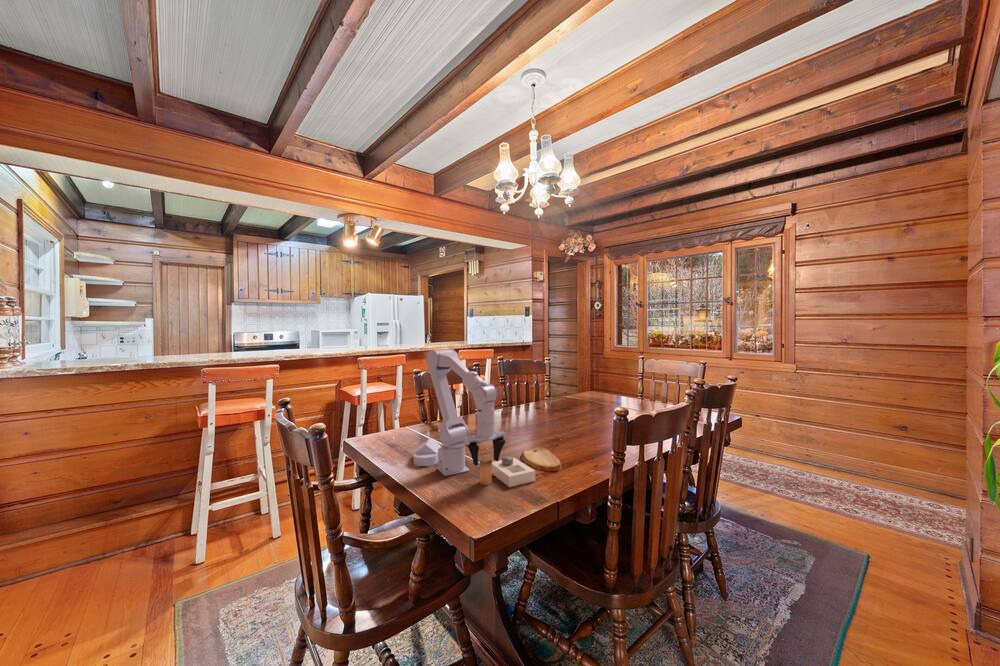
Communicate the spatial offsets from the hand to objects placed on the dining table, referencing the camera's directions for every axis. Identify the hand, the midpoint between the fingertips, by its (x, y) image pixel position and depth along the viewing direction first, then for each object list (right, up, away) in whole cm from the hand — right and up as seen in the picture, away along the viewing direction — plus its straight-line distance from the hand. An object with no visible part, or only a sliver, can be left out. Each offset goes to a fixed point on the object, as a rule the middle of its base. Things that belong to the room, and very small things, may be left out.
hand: (486, 462), depth 128 cm
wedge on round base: (-24, -6, +21) cm, 32 cm away
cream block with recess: (+9, -7, +5) cm, 12 cm away
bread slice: (+21, -7, +19) cm, 29 cm away
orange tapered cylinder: (0, -7, 0) cm, 7 cm away
